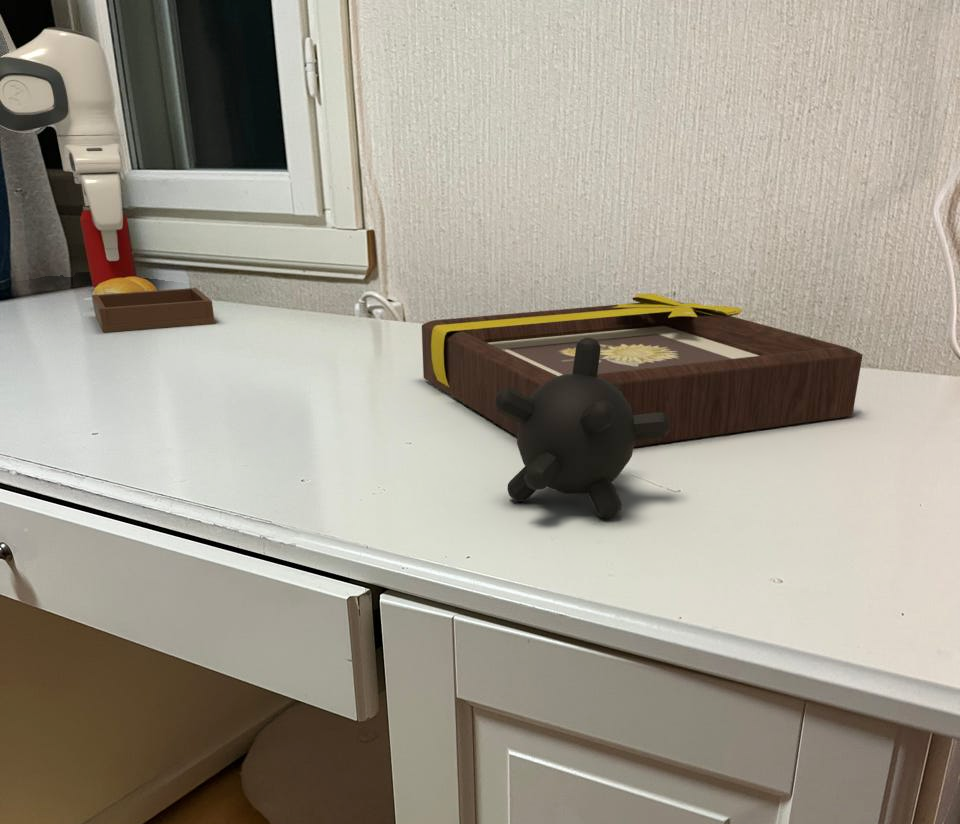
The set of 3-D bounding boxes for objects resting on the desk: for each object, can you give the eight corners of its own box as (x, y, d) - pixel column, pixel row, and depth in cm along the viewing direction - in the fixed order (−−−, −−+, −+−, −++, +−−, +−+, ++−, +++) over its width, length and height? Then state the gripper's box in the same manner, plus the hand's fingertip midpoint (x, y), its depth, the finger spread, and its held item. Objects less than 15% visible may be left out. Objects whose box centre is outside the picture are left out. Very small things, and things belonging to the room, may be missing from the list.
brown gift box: (415, 310, 93) (686, 288, 103) (418, 381, 96) (680, 353, 106) (546, 372, 70) (879, 336, 80) (544, 462, 73) (865, 417, 83)
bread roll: (169, 301, 142) (164, 272, 140) (137, 312, 135) (132, 281, 133) (117, 300, 144) (112, 271, 142) (83, 310, 136) (77, 280, 134)
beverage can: (146, 286, 156) (133, 204, 151) (125, 293, 150) (110, 207, 145) (107, 286, 157) (92, 204, 152) (84, 292, 151) (68, 207, 146)
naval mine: (428, 463, 63) (519, 378, 70) (544, 581, 64) (621, 485, 71) (516, 367, 54) (609, 281, 62) (647, 505, 56) (723, 404, 63)
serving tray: (103, 332, 121) (98, 309, 120) (95, 316, 131) (91, 294, 130) (215, 323, 126) (211, 300, 125) (199, 309, 136) (196, 287, 135)
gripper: (66, 156, 153) (84, 252, 159) (74, 159, 136) (94, 266, 142) (109, 155, 155) (125, 249, 161) (122, 158, 138) (139, 263, 144)
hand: (110, 257), depth 152 cm, fingers closed on beverage can, 7 cm apart
